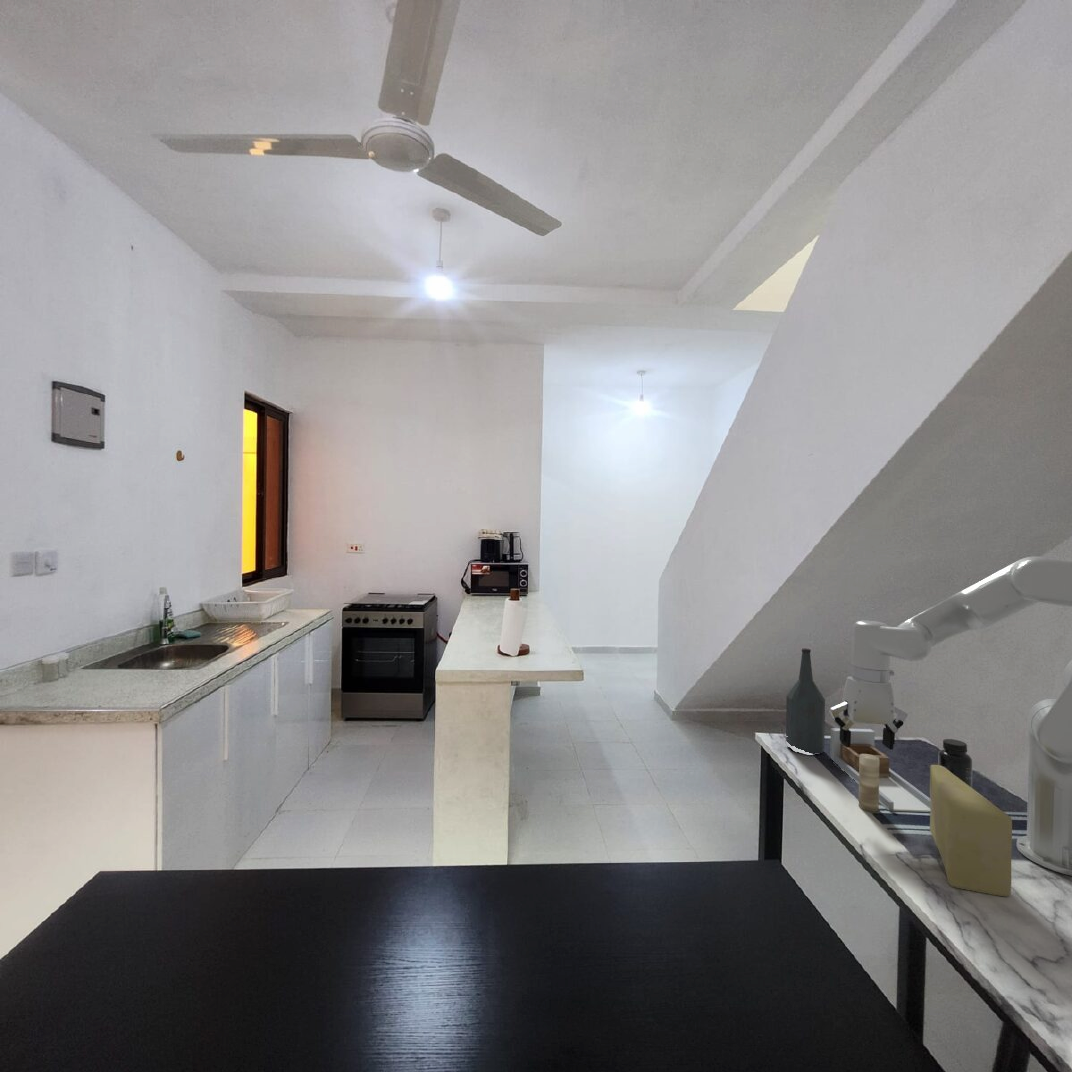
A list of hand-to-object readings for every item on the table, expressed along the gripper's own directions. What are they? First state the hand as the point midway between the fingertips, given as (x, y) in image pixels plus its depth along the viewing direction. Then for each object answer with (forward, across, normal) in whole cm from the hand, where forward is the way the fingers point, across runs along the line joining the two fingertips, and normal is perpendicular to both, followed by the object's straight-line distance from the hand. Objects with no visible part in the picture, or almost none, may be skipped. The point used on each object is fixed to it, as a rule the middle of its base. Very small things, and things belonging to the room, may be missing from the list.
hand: (866, 746), depth 128 cm
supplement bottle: (+14, -28, -10) cm, 33 cm away
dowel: (+14, -1, 0) cm, 15 cm away
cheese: (+14, -7, +20) cm, 25 cm away
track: (+14, -10, -12) cm, 22 cm away
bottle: (+15, -1, -33) cm, 37 cm away
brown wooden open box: (+14, -10, -19) cm, 26 cm away
